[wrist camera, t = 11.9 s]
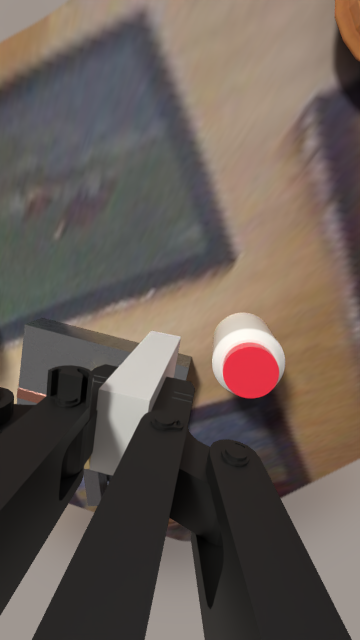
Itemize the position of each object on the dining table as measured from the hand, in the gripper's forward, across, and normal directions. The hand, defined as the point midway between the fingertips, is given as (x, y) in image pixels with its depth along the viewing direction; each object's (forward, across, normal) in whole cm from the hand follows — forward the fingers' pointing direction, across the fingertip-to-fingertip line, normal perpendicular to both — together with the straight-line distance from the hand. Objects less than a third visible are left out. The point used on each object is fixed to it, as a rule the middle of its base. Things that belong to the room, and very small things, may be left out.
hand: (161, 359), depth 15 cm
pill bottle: (+26, +7, -5) cm, 27 cm away
